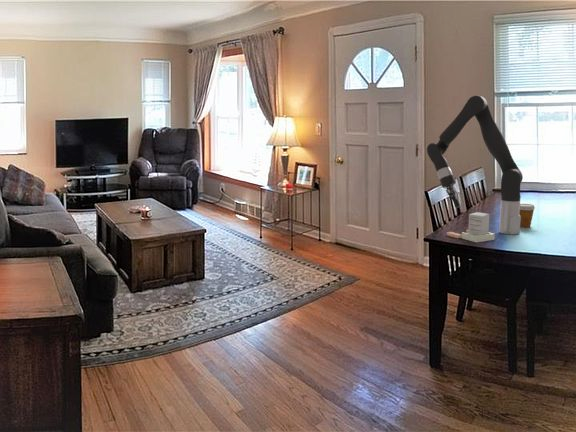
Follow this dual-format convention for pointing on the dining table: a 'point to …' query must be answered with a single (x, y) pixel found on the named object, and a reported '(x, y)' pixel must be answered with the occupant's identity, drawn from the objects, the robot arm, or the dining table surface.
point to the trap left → (454, 234)
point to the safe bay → (478, 237)
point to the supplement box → (478, 224)
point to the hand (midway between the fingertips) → (457, 206)
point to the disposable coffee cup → (526, 215)
